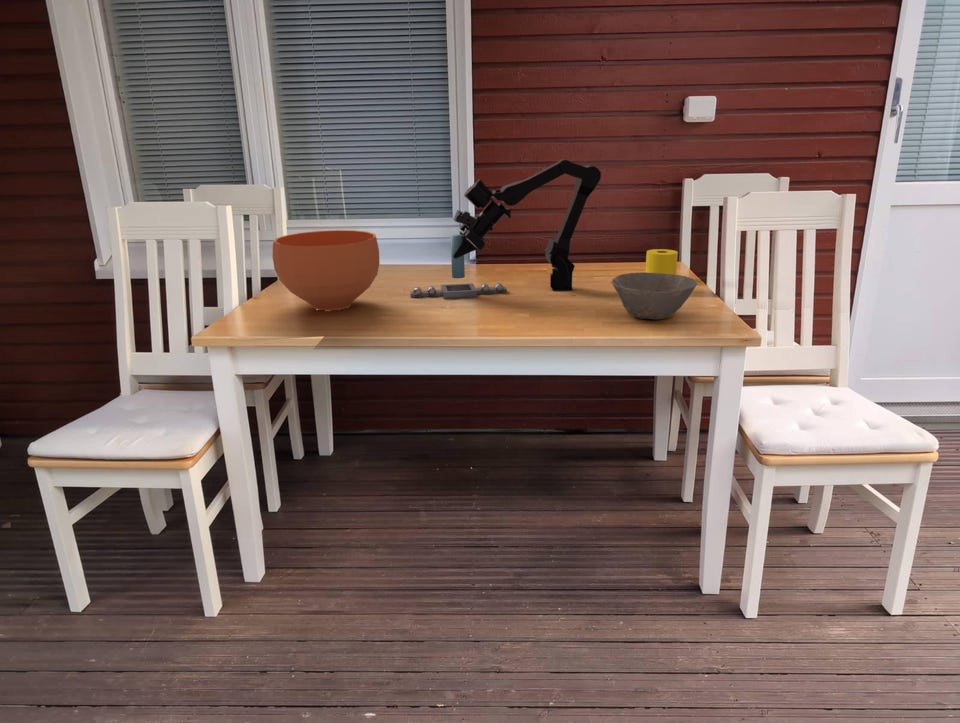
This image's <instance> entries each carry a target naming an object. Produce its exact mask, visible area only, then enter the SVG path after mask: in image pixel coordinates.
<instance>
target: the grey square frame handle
mask: <svg viewBox="0 0 960 723" xmlns="http://www.w3.org/2000/svg"><path fill="white" fill-rule="evenodd" d="M505 293H506V294H507V293H508V288H507V287H506V286H503V284H502V283H501V282H497V283H495V284H494V287H490V286H489V285H488V283H482V284H481V285H480V287H478V288H477V287H476V286H475V284H474V283H473V282H472V283H455V284H454V283H453V284H452V283H451V284H440V289H436V287H435V286H433V285H430V286H427V289H426V290H422V288H421V287H419V286H415V287H414V288H413V289H412V291H409V294H410V295H409V296H410V298H427V297H428V298H430V297H442V298H443V299H444V300H447V299H467V298H478V295H488V294H505Z"/></svg>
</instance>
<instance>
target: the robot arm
mask: <svg viewBox="0 0 960 723" xmlns="http://www.w3.org/2000/svg"><path fill="white" fill-rule="evenodd" d="M563 175H568V176H569V177H574V178H575V180H574V190H573V191H574V192H573V195H572V197H571V200H570V203H569V205H568V208H567V210H566V213H565V215H564V218H563V220H562V223H561V225H560V228H559V230H558V233H557V235H556V237H554V238H553V239H551V238H548V242H547V246H546V248H545V249H544V252H545V258H546V260H547V262H548V263H550V265H551V267H552V269H551V270H552V271H551V273H550V275H549V277H550V278H549V284H550V285H549V287H550V288H551V290H552V291H573V290H574V288H573V272H574V270H575V266H576V265H575V264H574V263H573V262H572V261H571V260H570V259H569V255H570V252H571V250H570V249H571V240H572V237H573V235H574V233H575V230H576V228H577V225H578V222H579V220H580V218H581V214H582V213H583V210H584V208H585V205H586V202H587V201H588V198H589V197H590V195H591V194H592V193H593V192H594V191H595V189H596V188H597V187H598V184H599V183H600V181H601V177H602V173H601V171H600V170H599V168H598V167H596V166H592V165H588V164H586V165H585V164H584V165H580V164H577V163H574V162H571V161H570V160H568V159H564V158H563V159H559V160H558V161H557V162H555V163H553V164H551V165H548V167H546V168H543V169H542V170H540V171H538V172H536V173H535V174H532V175H531V176H529V177H526V178H525V179H522V180H519V181H514V182H511V183H508V184H506V185H503V186H502V187H501V188H500V189H496V190H494V189H493V190H491V189H490V188H488V187H487V186H486V185H485V183H484V182H483V181H482V180H481V179H477V181H476V182H474V184H472V185H471V186H469V187H468V189H466V191H465V192H464V194H463V196H464V197H465V198H466V199H467V200H468V201H469V202H470V203H471V205H473V206H474V207H475V208H476V209H479V208H481V209H483V210H482V211H481V212H480V213H479V214H478V213H477V214H476V213H475V215H474V216H472V215H471V212H468V211H466V210H464V211H461V210H460V209H457V210H456V212H455V214H454V217H453V220H454V222H456V223H458V224H459V223H460V224H462V225H460V227H459V234H461V235H462V243H461V245H460V246H459V248H458V249H457V251H456V252H455V254H454V255H453V257H454V258H455V259H456V258H458V257H461V256H463V255H464V256H465V255H467V254H469V253H471V252H474V251H477V250H478V249H479V251H482V250H483V249H484V247H485V245H486V244H485V243H486V242H485V240H484V239H485V238H484V237H486V235H488V233H489V232H492V231H493V230H494V227H495V226H496V225H497V224H498V222H499V221H500V220H501V219H502V218H503V217H504V216H506V217H507V218H509V219H511V218H512V215H511V214H512V213H511V212H512V209H511V208H509V207H513V206H516V205H517V204H518V203H520V202H522V201H523V199H525V198H526V197H527V196H528V195H529V194H530V193H531V192H533V191H534V190H536V189H537V190H538V189H539V188H541V187H543V186H544V185H546V184H548V183H550V182H551V181H554V180H555V179H557V178H559V177H561V176H563ZM492 198H494V199H495V200H497V201H501V202H502V203H503V204H505V205H506V206H509V207H508V208H507V207H505V206H504V205H503V204H502V203H501V202H498V203H496V202H495V201H494V200H493V199H492Z"/></svg>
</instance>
